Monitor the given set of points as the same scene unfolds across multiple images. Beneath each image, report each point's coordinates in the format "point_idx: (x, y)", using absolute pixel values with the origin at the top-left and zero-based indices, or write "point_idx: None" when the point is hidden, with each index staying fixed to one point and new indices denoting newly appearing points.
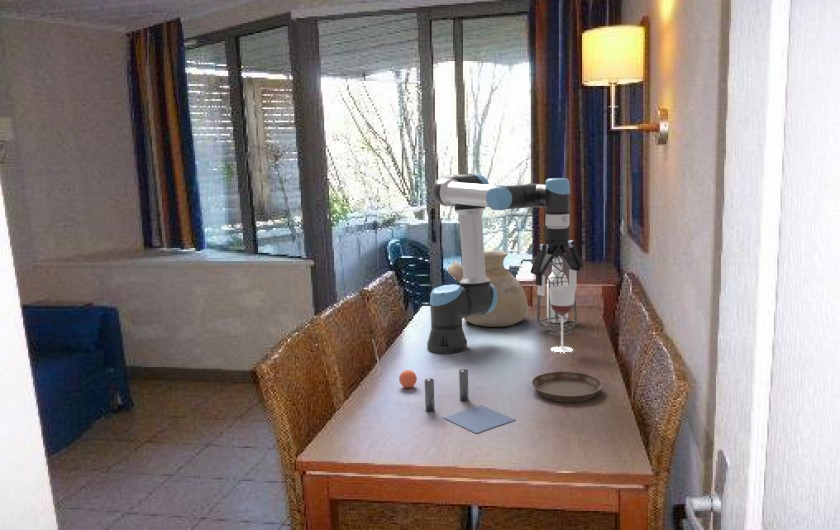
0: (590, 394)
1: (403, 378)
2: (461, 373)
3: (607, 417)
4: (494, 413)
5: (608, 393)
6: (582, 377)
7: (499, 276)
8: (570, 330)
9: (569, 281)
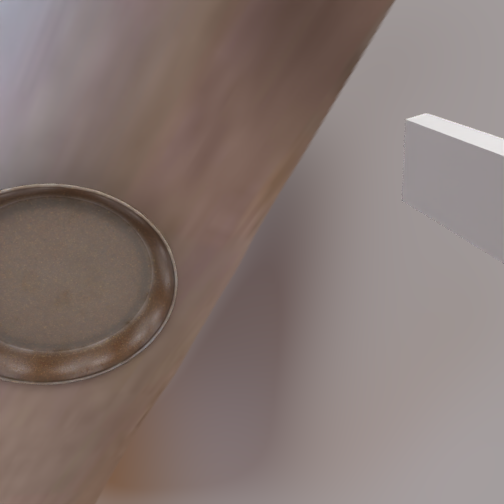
0: (95, 372)
1: None
2: None
3: (87, 437)
4: None
5: (176, 313)
6: (152, 233)
7: None
8: None
9: (471, 151)
